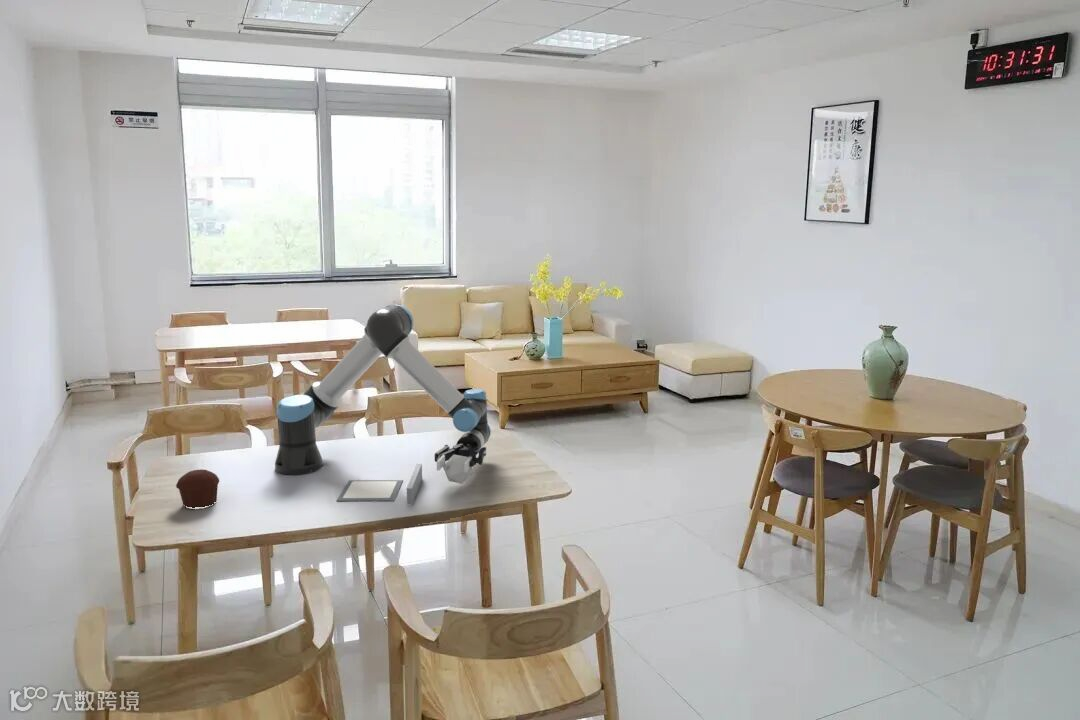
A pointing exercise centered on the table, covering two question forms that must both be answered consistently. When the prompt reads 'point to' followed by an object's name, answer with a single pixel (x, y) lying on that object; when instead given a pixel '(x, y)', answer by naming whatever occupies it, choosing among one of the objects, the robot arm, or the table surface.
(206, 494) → the muffin
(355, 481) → the mat
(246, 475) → the table surface
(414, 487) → the low wall
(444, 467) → the die
